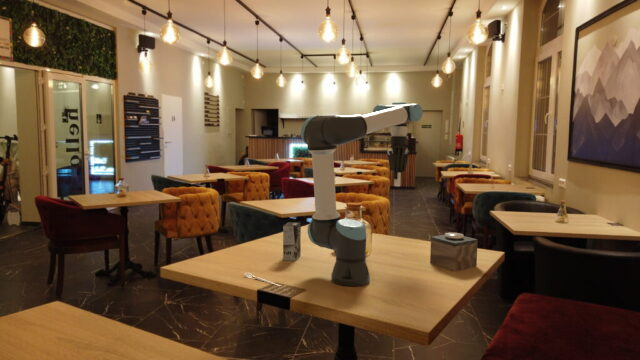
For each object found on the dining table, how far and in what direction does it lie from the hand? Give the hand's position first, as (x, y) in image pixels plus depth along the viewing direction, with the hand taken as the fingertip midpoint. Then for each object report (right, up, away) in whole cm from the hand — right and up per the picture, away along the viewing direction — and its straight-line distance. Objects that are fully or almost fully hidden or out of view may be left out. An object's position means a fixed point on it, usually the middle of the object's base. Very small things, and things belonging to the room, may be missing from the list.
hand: (397, 186), depth 214 cm
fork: (-59, -37, -36) cm, 78 cm away
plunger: (+23, -35, -12) cm, 43 cm away
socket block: (+23, -35, -12) cm, 43 cm away
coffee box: (-49, -34, -3) cm, 60 cm away
